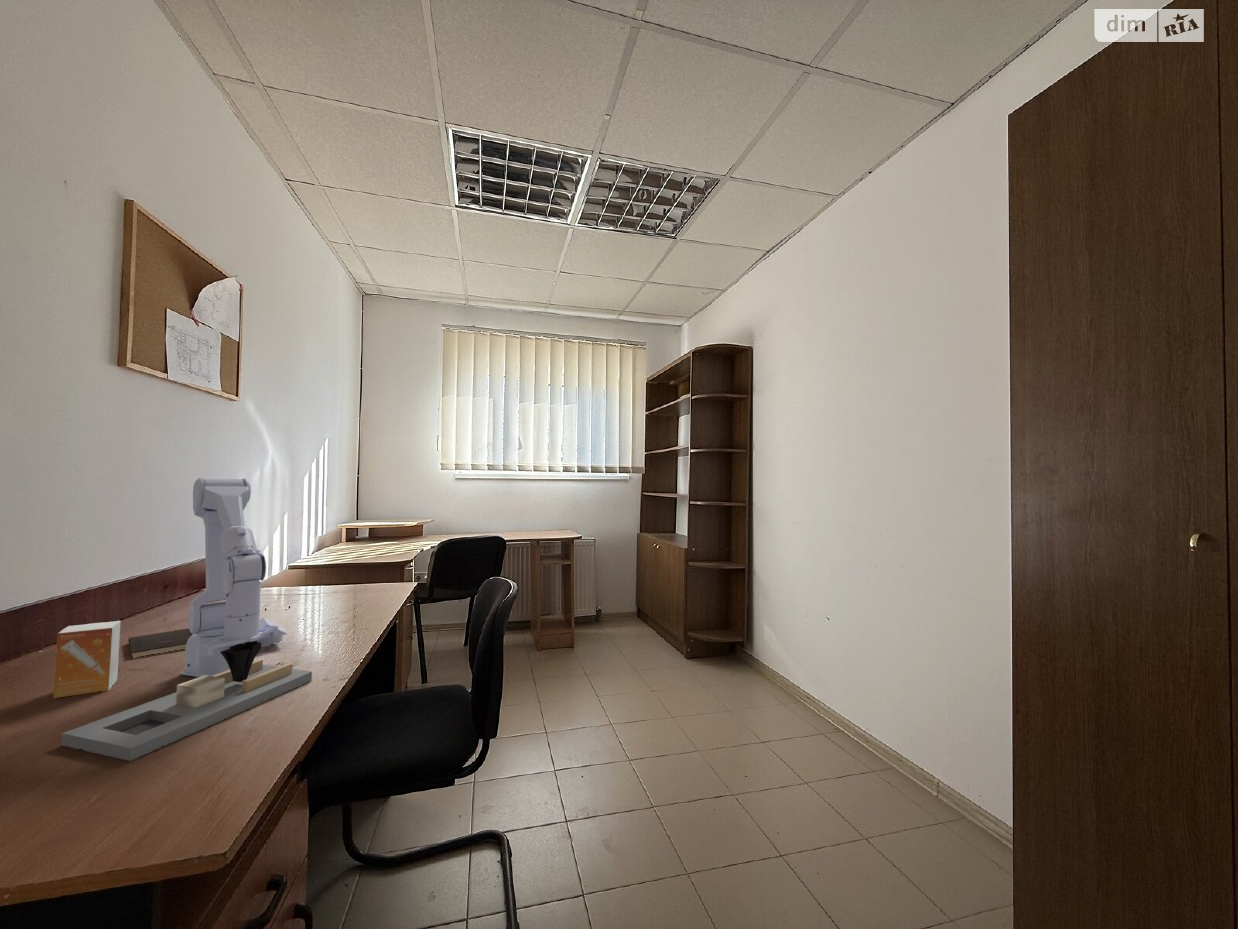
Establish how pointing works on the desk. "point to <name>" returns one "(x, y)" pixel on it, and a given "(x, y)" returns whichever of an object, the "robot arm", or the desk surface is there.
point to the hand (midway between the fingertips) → (239, 680)
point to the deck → (181, 714)
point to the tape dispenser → (271, 639)
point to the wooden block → (200, 691)
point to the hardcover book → (159, 642)
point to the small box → (86, 658)
